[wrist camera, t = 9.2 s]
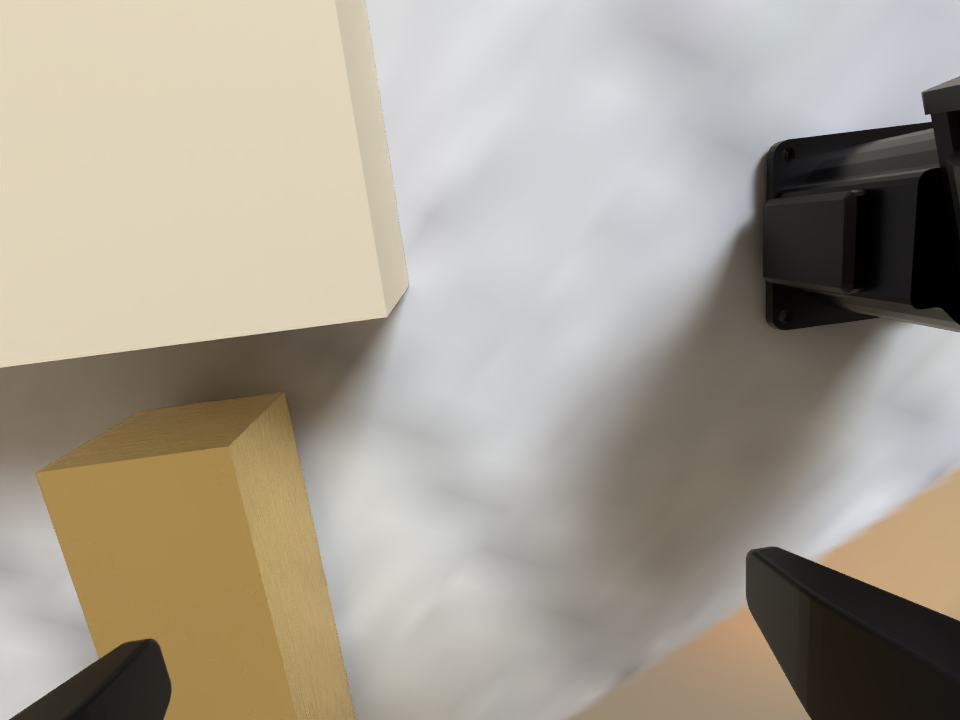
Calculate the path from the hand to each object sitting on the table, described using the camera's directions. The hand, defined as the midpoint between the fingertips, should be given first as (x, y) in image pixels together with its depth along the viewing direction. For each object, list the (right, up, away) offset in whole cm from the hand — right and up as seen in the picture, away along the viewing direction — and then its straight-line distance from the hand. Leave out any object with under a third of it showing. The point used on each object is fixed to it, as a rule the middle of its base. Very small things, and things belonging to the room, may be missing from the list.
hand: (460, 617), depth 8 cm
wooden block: (-8, -6, +13) cm, 16 cm away
